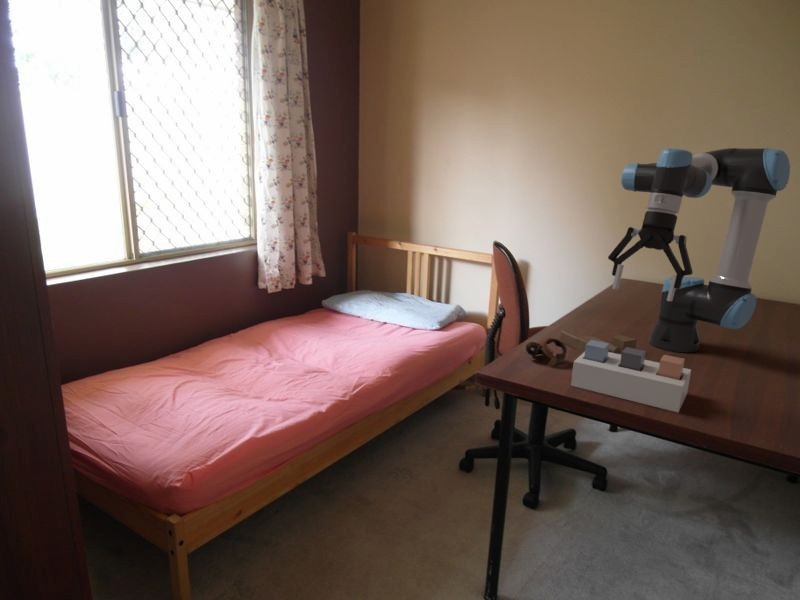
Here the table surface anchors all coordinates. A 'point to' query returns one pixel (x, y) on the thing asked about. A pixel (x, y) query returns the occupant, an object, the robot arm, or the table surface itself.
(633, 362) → the charcoal key
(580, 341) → the wooden block set
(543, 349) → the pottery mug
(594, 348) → the slate key
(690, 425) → the table surface
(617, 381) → the key console
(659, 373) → the terracotta key
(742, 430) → the table surface
